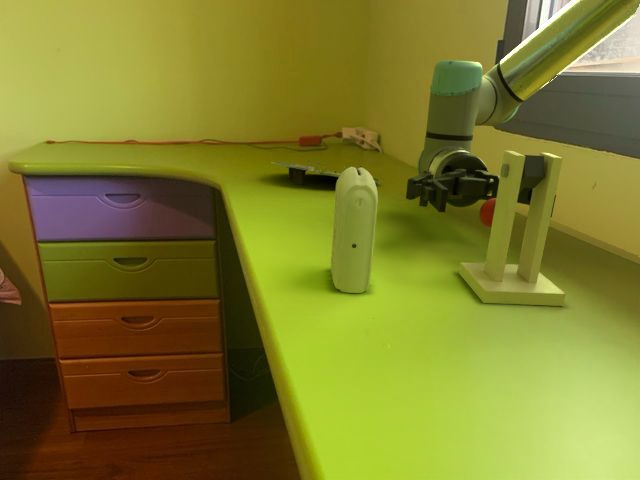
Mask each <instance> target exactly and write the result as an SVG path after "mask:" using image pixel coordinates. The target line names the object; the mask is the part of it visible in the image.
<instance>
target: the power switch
mask: <svg viewBox="0 0 640 480" xmlns="http://www.w3.org/2000/svg"><path fill="white" fill-rule="evenodd" d="M524 155H525V154H522V153H518V152H517V151H514V150H504V151H503V157H502V164H501V168H500V174H499V175H500V180H499V186H498V192H497V198H496V204H495V210H494V215H493V221H492V227H491V228H490V234H489V240H488V246H487V251H486V257H485V262H470V261H469V262H468V261H467V262H466V261H460V263H459V267H458V274H459V276H461V278H462V279H463V280H464V282H466V284H467V285H468V286H469V287H470V289H471V290H472V291H473V292H474V294H475V295H476V296H477V297H478V298H479V299H480V301H481V302H482V303H483V304H501V305H502V304H504V305H525V306H547V307H548V306H549V307H551V306H552V307H556V306H557V307H563V306H564V304H565V300H566V296H567V295H566V292H564V291H563V290H562V289H561V288H559V287H558V286H557V285H556V284H554V283H553V282H552V281H551V280H549V279H548V278H547V277H546V276H544V275H543V274H542V273H541V272H540V270H541V265H542V259H543V255H544V250H545V246H546V240H547V235H548V230H549V227H550V221H551V218H552V217H551V212H552V207H553V203H554V198H555V195H556V194H557V189H556V188H558V182H559V178H560V173H561V170H562V169H561V168H562V164H563V159H564V158H563V157H561V156H558V155H555V154H552V153H550V152H539V155H538V156H544V178H543V180H542V181H541V182H540V183H539V184H538V185H537V186H536V187H535V188H533V191H532V197H531V202H530V205H529V206H530V207H529V206H528V212H527V218H526V223H525V227H524V233H523V234H524V235H523V238H522V245H521V249H520V254H519V258H518V263H517V264H513V263H507V258H508V253H509V247H510V242H511V238H512V237H511V235H512V231H513V227H514V220H515V215H516V209H517V205H518V203H517V199H518V194H519V189H520V183H521V178H522V172H523V167H524V161H525V156H524ZM555 193H556V194H555ZM555 199H556V198H555ZM554 204H555V203H554Z"/></svg>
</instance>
